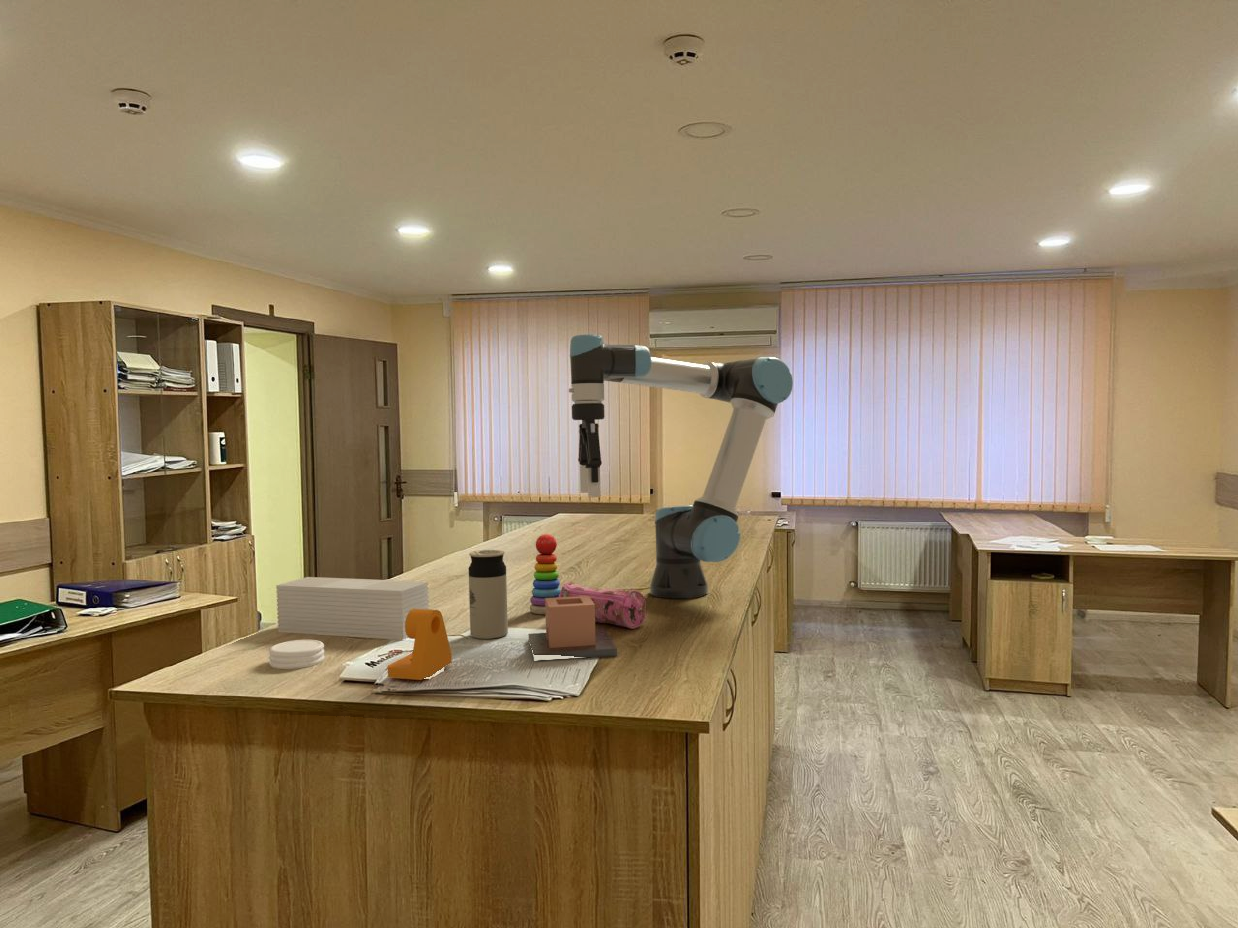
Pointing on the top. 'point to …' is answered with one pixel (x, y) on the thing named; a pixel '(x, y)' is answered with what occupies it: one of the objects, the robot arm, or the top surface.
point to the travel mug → (488, 594)
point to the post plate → (601, 648)
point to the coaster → (296, 654)
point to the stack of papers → (349, 606)
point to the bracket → (423, 646)
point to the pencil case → (612, 604)
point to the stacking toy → (545, 574)
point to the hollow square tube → (570, 621)
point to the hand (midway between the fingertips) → (590, 495)
